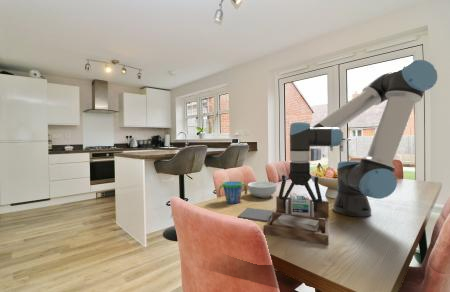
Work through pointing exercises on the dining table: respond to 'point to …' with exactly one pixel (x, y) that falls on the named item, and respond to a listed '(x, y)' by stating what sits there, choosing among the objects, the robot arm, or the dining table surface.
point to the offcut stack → (297, 223)
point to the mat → (256, 214)
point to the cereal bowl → (262, 188)
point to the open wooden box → (320, 216)
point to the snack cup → (232, 191)
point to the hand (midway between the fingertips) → (299, 217)
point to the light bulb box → (299, 204)
